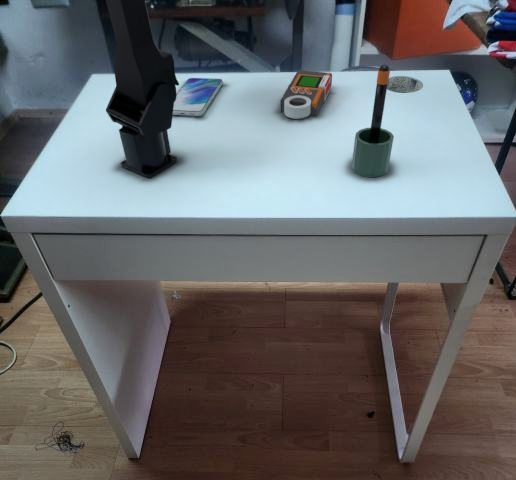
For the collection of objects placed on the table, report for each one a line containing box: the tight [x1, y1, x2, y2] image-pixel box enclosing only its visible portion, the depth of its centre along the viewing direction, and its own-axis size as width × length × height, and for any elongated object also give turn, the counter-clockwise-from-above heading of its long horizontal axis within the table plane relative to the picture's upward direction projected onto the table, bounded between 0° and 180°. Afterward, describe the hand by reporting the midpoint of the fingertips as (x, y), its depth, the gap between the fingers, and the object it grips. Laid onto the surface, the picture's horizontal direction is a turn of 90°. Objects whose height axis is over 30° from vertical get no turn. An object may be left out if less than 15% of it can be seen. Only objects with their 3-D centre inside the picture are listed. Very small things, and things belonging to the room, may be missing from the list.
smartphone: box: [173, 77, 224, 117], centre depth 94 cm, size 7×1×15 cm
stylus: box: [369, 64, 391, 144], centre depth 71 cm, size 2×2×14 cm
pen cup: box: [351, 127, 395, 178], centre depth 74 cm, size 5×5×5 cm
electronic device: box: [280, 69, 333, 120], centre depth 91 cm, size 7×3×15 cm
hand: (270, 13), depth 81 cm, fingers open, 9 cm apart
